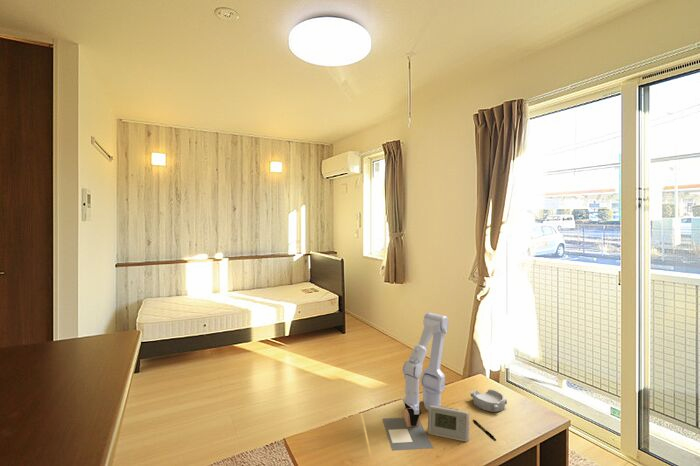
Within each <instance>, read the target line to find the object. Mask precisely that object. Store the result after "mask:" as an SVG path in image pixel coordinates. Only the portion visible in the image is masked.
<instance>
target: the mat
mask: <svg viewBox="0 0 700 466" xmlns="http://www.w3.org/2000/svg"><path fill="white" fill-rule="evenodd" d="M404 418H405V417H391V418H390V417H389V418H382V422H383V426H384V428H385V432H386V435H387V439H388V441H389V445H390V447H391V451H406V450H409V451H410V450H424V449H434V446H433V444H432V442H431V439H430V438H429V436H428V433H427V431H426V429H425V428H424V426H423V424H422V423H421V420H420V419H419V426H413V427H407V424H406V422H405V420H404Z"/></svg>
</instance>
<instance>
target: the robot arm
mask: <svg viewBox="0 0 700 466" xmlns="http://www.w3.org/2000/svg"><path fill="white" fill-rule="evenodd" d="M422 321H423V330H422V332H421V336H420V338H419V342H418V344H416V345H415V346H414V347H413V349H412V352H411V353H410V356H409V358H408V360H407V361H405V362H404V364H403V366H402V373H403V377H404V379H405V382H404V384H405V385H404V386H405V388H404V389H405V390H404V391H405V394H404V396H405V397H404V398H403V399H402V403H403V404H404V406H405V407H404V408H412V409H407V411H408V413H409V416H410V423H411V426H416V424H417V421H418V418H419V419H420V415H421V414H422V410H421V409H420V383H421V386H422V387H423V388H422V403H423V405H424V408H425V410H426V411H428V410H429V406H430V405H434V406H441V401H442V392H443V391H444V390H445V388H446V375H445V374H444V373H443V372H442V370H441V364H442V358H443V357H442V355H443V350H444V342H445V335H446V334H448V330H449V323H450V322H449V318H448V316H447V315H443V314H442V315H441V314H437V313H434V312H433V313H432V312H430V311H428V312H426V313H425V314H424V316H423V319H422ZM431 339H432V340H431ZM430 341H431V342H432V343H431V350H430V355H429V363H428V367H426V368H425V369H424V370H423V368H424V367H423V366H424V364H423V363H424V361H425V358H426V356H427V353H428V350H427V346H428V345H429V343H430ZM420 377H421V378H420Z"/></svg>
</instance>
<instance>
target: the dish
mask: <svg viewBox="0 0 700 466" xmlns="http://www.w3.org/2000/svg"><path fill="white" fill-rule="evenodd" d="M469 392H470V396H471V397H472V401H473V404H474V405H475V406H476V407H477V408H479V409H481V410H483V411H487V412H490V413H491V412H493V413H498V412H501V411H503V410H504V409H505V407H506V405H508V399H507V398H505V396H504V395H503V394H502V393H501V392H499V391H497V390H495V389H492V388H490V389H488V390H487V391H486V392H484V393H481V392H479V391H478V390H477V389H475V390H473V391H469Z"/></svg>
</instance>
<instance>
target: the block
mask: <svg viewBox="0 0 700 466" xmlns="http://www.w3.org/2000/svg"><path fill="white" fill-rule="evenodd" d="M407 409H412V408H406V407H404V417H403V418H404V420H405V422H406V424H407V427H413V426H411V423H410V416H409V413H408V411H407ZM419 420H420V417H419V418H418V421H417V424H416V426H419Z"/></svg>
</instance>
